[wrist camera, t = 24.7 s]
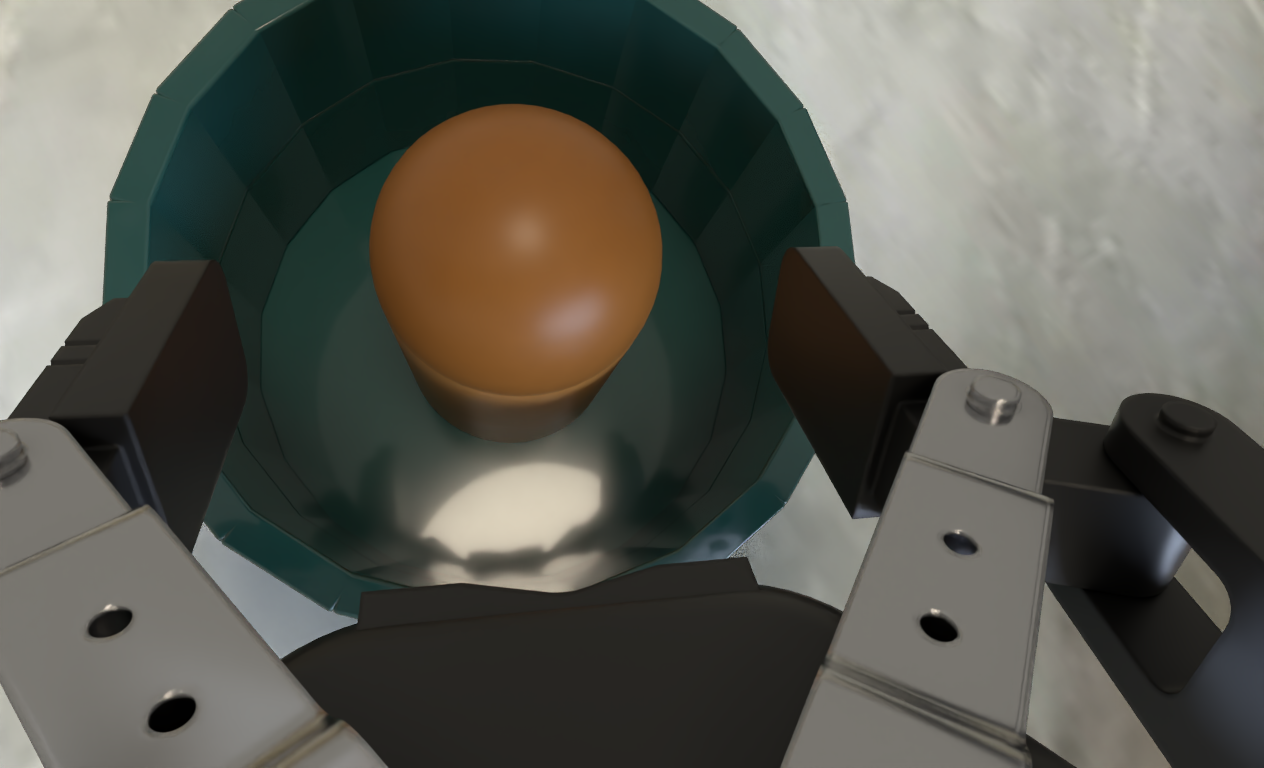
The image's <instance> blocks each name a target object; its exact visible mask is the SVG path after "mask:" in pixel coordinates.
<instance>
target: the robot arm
mask: <svg viewBox="0 0 1264 768" xmlns="http://www.w3.org/2000/svg"><path fill="white" fill-rule="evenodd" d="M768 361H769V366H770V370H771V373H772V376H773V378H774V380H775V381H776V383H777V385H778V387H779V389H780V390H781V392H782V394H783V396H784V398H785V399H786V401H787V403H788V405H789V406H790V408H791V410H792V412H793V414H794V415H795V417H796V419H797V421H798V423H799V424H800V426H801V428H802V430H803V432H804V433H805V435H806V437H807V439H808V440H809V442H810V444H811V446H812V448H813V449H814V451H815V453H816V455H817V457H818V458H819V460H820V462H821V464H822V465H823V467H824V469H825V471H826V473H827V474H828V476H829V478H830V480H831V482H832V483H833V485H834V487H835V489H836V491H837V492H838V494H839V496H840V498H841V499H842V501H843V503H844V505H845V507H846V508H847V510H848V512H849V514H850V516H851V517H852V519H858V518H870V517H880V518H879V521H878V523H877V526H876V529H875V531H874V534H873V536H872V539H871V542H870V544H869V547H868V549H867V552H866V554H865V557H864V560H863V562H862V565H861V567H860V570H859V573H858V575H857V578H856V580H855V583H854V585H853V588H852V591H851V593H850V596H849V598H848V601H847V603H846V606H845V609H844V611H843V612H842V611H840V610H838V609H836V608H834V607H833V606H831V605H828V604H826V603H823V602H821V601H819V600H816V599H814V598H812V597H809V596H805V595H802V594H799V593H796V592H793V591H789V590H785V589H780V588H775V587H771V586H764V585H758V584H757V581H756V579H755V576H754V574H753V571H752V568H751V566H750V563H749V561H748V558H747V557H738V558H727V559H716V560H705V561H694V562H683V563H672V564H661V565H656V566H653V567H649V568H646V569H643V570H640V571H636V572H633V573H630V574H627V575H624V576H620V577H617V578H614V579H611V580H608V581H604V582H601V583H598V584H595V585H591V586H588V587H585V588H582V589H579V590H575V591H571V592H565V593H553V592H543V591H534V590H525V589H515V588H506V587H497V586H488V585H478V584H469V583H454V584H443V585H432V586H421V587H410V588H399V589H388V590H377V591H366V592H361V598H360V607H359V615H358V623H357V624H354V625H351V626H348V627H344V628H341V629H339V630H337V631H334V632H332V633H329V634H327V635H324V636H322V637H320V638H318V639H316V640H314V641H312V642H310V643H308V644H306V645H304V646H302V647H300V648H298V649H296V650H295V651H293V652H291V653H290V654H288V655H287V656H285V657H284V658H282V659H279V657H278V656H277V655H276V654H275V653H274V652H273V650H272V649H271V648H270V647H269V646H268V644H267V643H266V642H265V641H264V640H263V638H262V637H261V636H260V635H259V634H258V633H257V631H256V630H255V629H254V628H253V627H252V625H251V624H250V623H249V622H248V621H247V619H246V618H245V617H244V616H243V615H242V614H241V612H240V611H239V610H238V609H237V608H236V606H235V605H234V604H233V603H232V602H231V600H230V599H229V598H228V597H227V596H226V594H225V593H224V592H223V591H222V590H221V589H220V587H219V586H218V585H217V584H216V583H215V581H214V580H213V579H212V578H211V577H210V575H209V574H208V573H207V572H206V571H205V570H204V568H203V567H202V566H201V565H200V564H199V562H198V561H197V560H196V559H195V558H194V556H193V555H192V551H193V548H194V545H195V543H196V540H197V537H198V534H199V531H200V529H201V526H202V523H203V520H204V517H205V515H206V512H207V509H208V506H209V503H210V501H211V498H212V495H213V492H214V489H215V487H216V484H217V481H218V478H219V475H220V473H221V470H222V467H223V464H224V461H225V459H226V456H227V453H228V450H229V447H230V445H231V442H232V439H233V436H234V433H235V430H236V428H237V425H238V422H239V419H240V416H241V414H242V411H243V408H244V405H245V402H246V398H247V390H248V374H247V365H246V359H245V354H244V350H243V346H242V342H241V338H240V334H239V330H238V326H237V322H236V318H235V314H234V310H233V306H232V302H231V298H230V294H229V289H228V285H227V281H226V278H225V274H224V272H223V269H222V267H221V265H220V264H219V262H218V261H216V260H178V261H154V262H153V263H152V264H151V265H150V266H149V268H148V269H147V271H146V272H145V274H144V275H143V277H142V278H141V280H140V281H139V283H138V284H137V286H136V287H135V289H134V290H133V292H132V293H131V295H130V296H129V298H113V299H112V300H110V301H109V302H107V303H105V304H104V305H102V306H101V307H99V308H98V309H96V310H94V311H93V312H91V313H90V314H88V315H87V316H85V317H83V318H82V319H81V320H80V321H79V323H78V324H77V326H76V327H75V328H74V330H73V331H72V332H71V334H70V335H69V336H68V338H67V339H66V340H65V346H61V347H60V349H59V350H58V351H57V353H56V354H55V355H54V357H53V358H52V359H51V365H49V366H46V368H45V369H44V370H43V372H42V373H41V374H40V376H39V377H38V378H37V380H36V381H35V382H34V384H33V385H32V387H31V388H30V389H29V391H28V392H27V393H26V395H25V396H24V397H23V399H22V400H21V401H20V403H19V404H18V405H17V407H16V408H15V410H14V411H13V412H12V414H11V415H10V416H9V418H8V419H7V420H0V684H1V685H2V687H3V689H4V691H5V693H6V695H7V697H8V699H9V701H10V703H11V705H12V707H13V708H14V710H15V712H16V714H17V716H18V718H19V720H20V722H21V724H22V726H23V728H24V730H25V732H26V733H27V735H28V737H29V739H30V741H31V743H32V745H33V747H34V749H35V751H36V753H37V755H38V756H39V758H40V760H41V762H42V764H43V766H44V768H1076V767H1075V766H1073V765H1072V764H1070V763H1069V762H1067V761H1066V760H1064V759H1063V758H1061V757H1060V756H1058V755H1057V754H1055V753H1054V752H1053V751H1051V750H1050V749H1048V748H1047V747H1045V746H1044V745H1042V744H1041V743H1039V742H1038V741H1036V740H1035V739H1033V738H1032V737H1030V736H1029V735H1027V734H1026V727H1027V719H1028V711H1029V703H1030V695H1031V687H1032V679H1033V671H1034V663H1035V655H1036V647H1037V639H1038V631H1039V623H1040V615H1041V607H1042V599H1043V591H1044V583H1045V582H1046V584H1047V585H1048V587H1049V589H1050V590H1051V592H1052V593H1053V595H1054V596H1055V598H1056V599H1057V600H1058V602H1059V603H1060V605H1061V606H1062V608H1063V609H1064V611H1065V612H1066V614H1067V615H1068V617H1069V618H1070V619H1071V621H1072V622H1073V624H1074V625H1075V627H1076V628H1077V630H1078V631H1079V633H1080V634H1081V635H1082V637H1083V638H1084V640H1085V641H1086V643H1087V644H1088V646H1089V647H1090V649H1091V650H1092V652H1093V653H1094V654H1095V656H1096V657H1097V659H1098V660H1099V662H1100V663H1101V665H1102V666H1103V668H1104V669H1105V670H1106V672H1107V673H1108V675H1109V676H1110V678H1111V679H1112V681H1113V682H1114V684H1115V685H1116V687H1117V688H1118V689H1119V691H1120V692H1121V694H1122V695H1123V697H1124V698H1125V700H1126V701H1127V703H1128V704H1129V705H1130V707H1131V708H1132V710H1133V711H1134V713H1135V714H1136V716H1137V717H1138V719H1139V720H1140V722H1141V723H1142V724H1143V726H1144V727H1145V729H1146V730H1147V732H1148V733H1149V735H1150V736H1151V738H1152V739H1153V740H1154V742H1155V743H1156V745H1157V746H1158V748H1159V749H1160V751H1161V752H1162V754H1163V755H1164V757H1165V758H1166V759H1167V761H1168V762H1169V764H1170V765H1171V767H1172V768H1264V449H1263V448H1262V447H1261V446H1260V445H1258V444H1257V443H1256V442H1255V441H1254V440H1253V439H1251V438H1250V437H1249V436H1248V435H1247V434H1246V433H1244V432H1243V431H1242V430H1241V429H1240V428H1238V427H1237V426H1236V425H1235V424H1234V423H1232V422H1231V421H1230V420H1228V419H1227V418H1225V417H1224V416H1222V415H1220V414H1219V413H1217V412H1215V411H1213V410H1211V409H1209V408H1207V407H1205V406H1202V405H1200V404H1198V403H1195V402H1192V401H1189V400H1186V399H1182V398H1179V397H1175V396H1170V395H1164V394H1156V393H1144V394H1136V395H1132V396H1130V397H1127V398H1126V399H1125V400H1123V401H1122V403H1121V405H1120V407H1119V409H1118V411H1117V413H1116V415H1115V417H1114V419H1113V421H1112V423H1111V426H1108V425H1101V424H1094V423H1087V422H1080V421H1073V420H1066V419H1059V418H1054V417H1053V411H1052V408H1051V406H1050V404H1049V403H1048V401H1047V400H1046V399H1045V398H1044V397H1043V396H1042V395H1041V394H1040V393H1039V392H1038V391H1036V390H1035V389H1033V388H1032V387H1030V386H1029V385H1027V384H1025V383H1023V382H1022V381H1020V380H1017V379H1015V378H1013V377H1010V376H1007V375H1004V374H1001V373H998V372H994V371H989V370H983V369H972V368H967V366H966V365H965V364H964V363H963V362H962V361H961V360H960V359H959V358H958V357H957V356H956V354H955V353H954V352H953V351H952V350H951V349H950V348H949V347H948V346H947V345H946V344H945V342H944V341H943V340H942V339H941V338H940V337H939V336H938V335H937V334H936V333H935V332H934V330H933V329H929V325H928V324H927V323H926V322H925V321H924V320H923V318H922V317H921V316H920V315H919V314H915V310H914V309H913V308H912V307H911V305H910V304H909V303H908V302H907V301H906V300H905V299H904V298H903V297H902V296H901V295H900V293H899V292H897V291H895V290H894V289H892V288H890V287H888V286H887V285H885V284H883V283H881V282H880V281H878V280H876V279H874V278H873V277H866V276H865V275H864V274H863V273H862V272H861V271H860V269H859V268H858V267H857V266H856V265H855V264H854V263H853V261H852V260H851V259H850V258H849V257H848V256H847V255H846V254H845V252H844V251H843V250H842V249H841V248H840V247H838V246H825V247H790V248H788V249H787V250H786V252H785V254H784V256H783V259H782V262H781V267H780V273H779V278H778V284H777V290H776V296H775V301H774V307H773V313H772V318H771V324H770V330H769V336H768ZM1191 548H1192V549H1193V550H1194V551H1195V552H1196V553H1197V554H1198V555H1199V556H1200V557H1201V558H1202V559H1203V561H1204V562H1205V563H1206V564H1207V565H1208V566H1209V567H1210V568H1211V569H1212V570H1213V571H1214V573H1215V574H1216V575H1217V576H1218V577H1219V578H1220V580H1221V581H1222V582H1223V584H1224V586H1225V588H1226V590H1227V592H1228V595H1229V599H1230V604H1231V615H1230V620H1229V623H1228V625H1227V627H1226V628H1225V630H1224V631H1223V633H1222V632H1221V631H1220V629H1219V628H1218V627H1217V626H1216V625H1215V624H1214V623H1213V621H1212V620H1211V619H1210V618H1209V617H1208V616H1207V614H1206V613H1205V612H1204V611H1203V610H1202V609H1201V607H1200V606H1199V605H1198V604H1197V603H1196V602H1195V600H1194V599H1193V598H1192V597H1191V596H1190V595H1189V593H1188V592H1187V591H1186V590H1185V589H1184V588H1183V586H1182V585H1181V584H1180V583H1179V582H1178V581H1177V579H1176V578H1175V577H1174V575H1175V574H1176V572H1177V570H1178V569H1179V567H1180V566H1181V564H1182V562H1183V561H1184V559H1185V557H1186V556H1187V554H1188V553H1189V551H1190V549H1191Z"/></svg>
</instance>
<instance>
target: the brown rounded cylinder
mask: <svg viewBox="0 0 1264 768" xmlns="http://www.w3.org/2000/svg"><path fill="white" fill-rule="evenodd" d="M369 255H370V267H371V272H372V277H373V283H374V287H375V290H376V293H377V296H378V299H379V302H380V305H381V308H382V310H383V312H384V314H385V316H386V318H387V320H388V322H389V324H390V327H391V329H392V331H393V333H394V335H395V337H396V339H397V341H398V344H399V346H400V348H401V350H402V352H403V354H404V356H405V358H406V360H407V363H408V365H409V367H410V369H411V371H412V373H413V375H414V377H415V379H416V382H417V384H418V386H419V388H420V390H421V392H422V394H423V395H424V396H425V398H426V399H427V401H428V402H429V404H430V405H431V406H432V407H433V408H434V409H435V410H436V412H437V413H438V414H439V415H440V416H442V417H443V418H444V419H445V420H446V421H448V422H449V423H450V424H452V425H453V426H455V427H456V428H458V429H460V430H461V431H464V432H466V433H468V434H470V435H472V436H475V437H478V438H481V439H485V440H489V441H495V442H506V443H516V442H526V441H531V440H536V439H539V438H542V437H545V436H548V435H551V434H553V433H555V432H557V431H559V430H561V429H562V428H564V427H565V426H567V425H568V424H570V423H571V422H573V421H574V420H575V419H576V418H577V417H578V416H579V415H580V414H582V413H583V411H584V410H585V409H586V408H587V407H588V406H589V404H590V403H591V402H592V400H593V399H594V398H595V396H596V395H597V393H598V392H599V390H600V389H601V388H602V386H603V385H604V383H605V382H606V380H607V379H608V378H609V376H610V375H611V373H612V372H613V370H614V369H615V368H616V366H617V365H618V363H619V362H620V360H621V359H622V358H623V356H624V355H625V353H626V352H627V350H628V349H629V348H630V346H631V345H632V343H633V342H634V340H635V339H636V337H637V336H638V334H639V333H640V331H641V330H642V328H643V326H644V325H645V322H646V320H647V318H648V316H649V314H650V312H651V310H652V307H653V305H654V302H655V299H656V295H657V292H658V289H659V284H660V278H661V272H662V238H661V229H660V224H659V220H658V216H657V212H656V209H655V207H654V204H653V202H652V199H651V197H650V194H649V191H648V189H647V187H646V185H645V183H644V182H643V180H642V178H641V176H640V174H639V173H638V171H637V170H636V169H635V167H634V166H633V165H632V163H631V162H630V160H629V159H628V158H627V157H626V156H625V155H624V154H623V153H622V152H621V151H620V149H619V148H618V147H617V146H616V145H614V144H613V143H612V142H611V141H610V140H608V139H607V138H606V137H605V136H604V135H603V134H601V133H600V132H598V131H597V130H595V129H594V128H592V127H591V126H589V125H588V124H586V123H584V122H582V121H580V120H578V119H576V118H574V117H572V116H570V115H567V114H565V113H562V112H559V111H556V110H553V109H549V108H544V107H540V106H534V105H525V104H500V105H492V106H485V107H481V108H477V109H473V110H470V111H467V112H464V113H462V114H459V115H457V116H454V117H452V118H450V119H448V120H446V121H444V122H442V123H441V124H439V125H437V126H435V127H434V128H432V129H431V130H429V131H428V132H427V133H425V134H424V135H423V136H421V137H420V138H419V139H418V140H417V141H416V142H415V143H414V144H413V145H412V146H411V147H410V148H409V149H407V151H406V152H405V153H404V154H403V156H402V157H401V158H400V159H399V161H398V162H397V163H396V165H395V166H394V168H393V169H392V171H391V172H390V174H389V176H388V178H387V179H386V181H385V183H384V185H383V187H382V189H381V192H380V194H379V197H378V199H377V202H376V206H375V210H374V214H373V218H372V223H371V230H370V240H369Z"/></svg>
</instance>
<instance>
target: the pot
mask: <svg viewBox="0 0 1264 768" xmlns="http://www.w3.org/2000/svg"><path fill="white" fill-rule="evenodd" d="M156 93H157V94H153V95H152V97H151V100H150V102H149V104H148V107H147V109H146V111H145V114H144V116H143V118H142V121H141V123H140V125H139V128H138V130H137V133H136V135H135V137H134V140H133V142H132V144H131V147H130V149H129V151H128V154H127V156H126V158H125V161H124V163H123V165H122V168H121V170H120V172H119V175H118V177H117V179H116V182H115V184H114V186H113V189H112V191H111V193H110V200H111V201H108V203H107V223H106V244H105V264H104V284H103V305H104V304H105V303H107V302H109V301H110V300H112V299H113V298H129V296H130V295H131V293H132V292H133V290H134V289H135V287H136V286H137V284H138V283H139V281H140V280H141V278H142V277H143V275H144V274H145V272H146V271H147V269H148V268H149V266H150V265H151V264H152V263H153V262H154V261H178V260H216V261H218V262H219V264H220V265H221V267H222V269H223V272H224V274H225V278H226V281H227V285H228V289H229V294H230V298H231V302H232V306H233V310H234V314H235V318H236V322H237V326H238V330H239V334H240V338H241V342H242V346H243V350H244V354H245V359H246V365H247V374H248V390H247V398H246V402H245V405H244V408H243V411H242V414H241V416H240V419H239V422H238V425H237V428H236V430H235V433H234V436H233V439H232V442H231V445H230V447H229V450H228V453H227V456H226V459H225V461H224V464H223V467H222V470H221V473H220V475H219V478H218V481H217V484H216V487H215V489H214V492H213V495H212V498H211V501H210V503H209V506H208V509H207V512H206V515H205V517H204V520H203V522H204V523H205V524H206V526H207V527H208V528H209V529H210V531H211V532H212V533H213V535H214V536H215V537H216V538H217V539H218V540H220V541H222V543H223V545H225V546H226V547H228V548H229V549H231V550H232V551H234V552H236V553H237V554H239V555H240V556H242V557H244V558H245V559H247V560H248V561H250V562H251V563H253V564H255V565H256V566H258V567H259V568H261V569H262V570H264V571H266V572H267V573H269V574H270V575H272V576H273V577H275V578H277V579H278V580H280V581H281V582H283V583H285V584H286V585H288V586H289V587H291V588H292V589H294V590H296V591H297V592H299V593H300V594H302V595H303V596H305V597H307V598H308V599H310V600H311V601H313V602H315V603H316V604H318V605H319V606H321V607H322V608H324V609H326V610H327V611H334V613H336V614H338V615H342V616H346V617H350V618H354V619H358V615H359V607H360V598H361V592H366V591H377V590H388V589H399V588H410V587H421V586H432V585H443V584H454V583H469V584H478V585H488V586H497V587H506V588H515V589H525V590H534V591H543V592H553V593H565V592H571V591H575V590H579V589H582V588H585V587H588V586H591V585H595V584H598V583H601V582H604V581H608V580H611V579H614V578H617V577H620V576H624V575H627V574H630V573H633V572H636V571H640V570H643V569H646V568H649V567H653V566H656V565H661V564H672V563H683V562H694V561H705V560H716V559H727V558H729V557H730V556H731V555H732V554H733V553H734V552H735V551H736V550H737V549H739V548H740V547H741V546H742V545H743V544H744V543H745V542H746V541H747V540H748V539H750V538H751V537H752V536H753V535H754V534H755V533H756V532H757V531H758V530H760V529H761V528H762V527H763V526H764V525H765V524H766V523H767V522H768V521H770V520H771V519H772V518H773V517H774V516H775V515H776V514H777V513H778V512H779V511H781V510H782V509H783V508H784V506H785V505H784V504H786V503H787V502H788V500H789V499H790V497H791V495H792V493H793V491H794V490H795V488H796V486H797V484H798V483H799V481H800V479H801V477H802V475H803V474H804V472H805V470H806V468H807V467H808V465H809V463H810V461H811V459H812V458H813V456H814V454H815V451H814V449H813V448H812V446H811V444H810V442H809V440H808V439H807V437H806V435H805V433H804V432H803V430H802V428H801V426H800V424H799V423H798V421H797V419H796V417H795V415H794V414H793V412H792V410H791V408H790V406H789V405H788V403H787V401H786V399H785V398H784V396H783V394H782V392H781V390H780V389H779V387H778V385H777V383H776V381H775V380H774V378H773V376H772V373H771V370H770V366H769V361H768V336H769V330H770V324H771V318H772V313H773V307H774V301H775V296H776V290H777V284H778V278H779V273H780V267H781V262H782V259H783V256H784V254H785V252H786V250H787V249H788V248H790V247H825V246H838V247H840V248H841V249H842V250H843V251H844V252H845V254H846V255H847V256H848V257H849V258H850V259H851V260H852V261H853V263H854V264H855V259H854V251H853V242H852V234H851V226H850V217H849V209H848V203H847V202H846V197H845V195H844V193H843V190H842V188H841V186H840V184H839V181H838V179H837V177H836V175H835V172H834V170H833V168H832V166H831V163H830V161H829V159H828V157H827V154H826V152H825V150H824V148H823V145H822V143H821V141H820V139H819V136H818V134H817V132H816V130H815V127H814V125H813V123H812V121H811V118H810V116H809V114H808V112H807V109H806V108H803V107H804V106H803V104H802V103H801V101H800V100H799V99H798V98H797V97H796V96H795V94H794V93H793V92H792V91H791V90H790V88H789V87H788V86H787V85H786V84H785V83H784V81H783V80H782V79H781V78H780V77H779V75H778V74H777V73H776V72H775V71H774V70H773V68H772V67H771V66H770V65H769V64H768V62H767V61H766V60H765V59H764V58H763V56H762V55H761V54H760V53H759V52H758V51H757V49H756V48H755V47H754V46H753V45H752V43H751V42H750V41H749V40H748V39H747V38H746V36H745V35H744V34H743V33H742V32H741V30H739V29H737V27H736V25H734V24H733V23H731V22H730V21H728V20H727V19H726V18H724V17H723V16H721V15H720V14H718V13H717V12H715V11H714V10H712V9H711V8H709V7H708V6H706V5H705V4H703V3H702V2H700V1H699V0H242V1H240V2H239V3H237V4H235V5H234V6H233V9H230V10H228V11H227V12H226V13H225V15H224V16H223V17H222V18H221V19H220V20H219V21H218V22H217V23H216V24H215V25H214V27H213V28H212V29H211V30H210V31H209V32H208V33H207V34H206V35H205V36H204V37H203V39H202V40H201V41H200V42H199V43H198V44H197V45H196V46H195V47H194V48H193V49H192V51H191V52H190V53H189V54H188V55H187V56H186V57H185V58H184V59H183V60H182V61H181V63H180V64H179V65H178V66H177V67H176V68H175V69H174V70H173V71H172V72H171V73H170V75H169V76H168V77H167V78H166V79H165V80H164V81H163V82H162V83H161V84H160V85H159V87H158V88H157V90H156ZM500 104H525V105H534V106H540V107H544V108H549V109H553V110H556V111H559V112H562V113H565V114H567V115H570V116H572V117H574V118H576V119H578V120H580V121H582V122H584V123H586V124H588V125H589V126H591V127H592V128H594V129H595V130H597V131H598V132H600V133H601V134H603V135H604V136H605V137H606V138H607V139H608V140H610V141H611V142H612V143H613V144H614V145H616V146H617V147H618V148H619V149H620V151H621V152H622V153H623V154H624V155H625V156H626V157H627V158H628V159H629V160H630V162H631V163H632V165H633V166H634V167H635V169H636V170H637V171H638V173H639V174H640V176H641V178H642V180H643V182H644V183H645V185H646V187H647V189H648V191H649V194H650V197H651V199H652V202H653V204H654V207H655V209H656V212H657V216H658V220H659V224H660V229H661V238H662V272H661V278H660V284H659V289H658V292H657V295H656V299H655V302H654V305H653V307H652V310H651V312H650V314H649V316H648V318H647V320H646V322H645V325H644V326H643V328H642V330H641V331H640V333H639V334H638V336H637V337H636V339H635V340H634V342H633V343H632V345H631V346H630V348H629V349H628V350H627V352H626V353H625V355H624V356H623V358H622V359H621V360H620V362H619V363H618V365H617V366H616V368H615V369H614V370H613V372H612V373H611V375H610V376H609V378H608V379H607V380H606V382H605V383H604V385H603V386H602V388H601V389H600V390H599V392H598V393H597V395H596V396H595V398H594V399H593V400H592V402H591V403H590V404H589V406H588V407H587V408H586V409H585V410H584V411H583V413H582V414H580V415H579V416H578V417H577V418H576V419H575V420H574V421H573V422H571V423H570V424H568V425H567V426H565V427H564V428H562V429H561V430H559V431H557V432H555V433H553V434H551V435H548V436H545V437H542V438H539V439H536V440H531V441H526V442H516V443H506V442H495V441H489V440H485V439H481V438H478V437H475V436H472V435H470V434H468V433H466V432H464V431H461V430H460V429H458V428H456V427H455V426H453V425H452V424H450V423H449V422H448V421H446V420H445V419H444V418H443V417H442V416H440V415H439V414H438V413H437V412H436V410H435V409H434V408H433V407H432V406H431V405H430V404H429V402H428V401H427V399H426V398H425V396H424V395H423V394H422V392H421V390H420V388H419V386H418V384H417V382H416V379H415V377H414V375H413V373H412V371H411V369H410V367H409V365H408V363H407V360H406V358H405V356H404V354H403V352H402V350H401V348H400V346H399V344H398V341H397V339H396V337H395V335H394V333H393V331H392V329H391V327H390V324H389V322H388V320H387V318H386V316H385V314H384V312H383V310H382V308H381V305H380V302H379V299H378V296H377V293H376V290H375V287H374V283H373V277H372V272H371V267H370V255H369V240H370V230H371V223H372V218H373V214H374V210H375V206H376V202H377V199H378V197H379V194H380V192H381V189H382V187H383V185H384V183H385V181H386V179H387V178H388V176H389V174H390V172H391V171H392V169H393V168H394V166H395V165H396V163H397V162H398V161H399V159H400V158H401V157H402V156H403V154H404V153H405V152H406V151H407V149H409V148H410V147H411V146H412V145H413V144H414V143H415V142H416V141H417V140H418V139H419V138H420V137H421V136H423V135H424V134H425V133H427V132H428V131H429V130H431V129H432V128H434V127H435V126H437V125H439V124H441V123H442V122H444V121H446V120H448V119H450V118H452V117H454V116H457V115H459V114H462V113H464V112H467V111H470V110H473V109H477V108H481V107H485V106H492V105H500Z"/></svg>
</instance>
